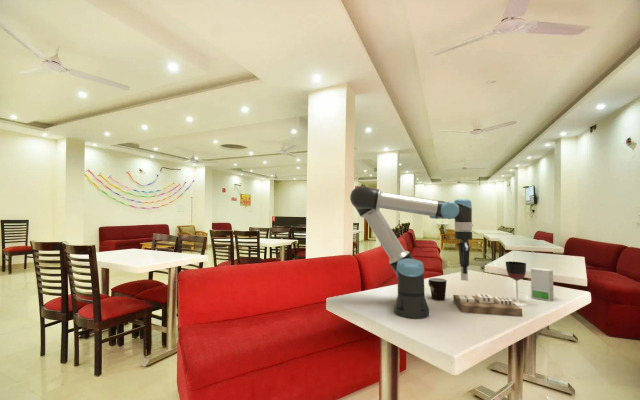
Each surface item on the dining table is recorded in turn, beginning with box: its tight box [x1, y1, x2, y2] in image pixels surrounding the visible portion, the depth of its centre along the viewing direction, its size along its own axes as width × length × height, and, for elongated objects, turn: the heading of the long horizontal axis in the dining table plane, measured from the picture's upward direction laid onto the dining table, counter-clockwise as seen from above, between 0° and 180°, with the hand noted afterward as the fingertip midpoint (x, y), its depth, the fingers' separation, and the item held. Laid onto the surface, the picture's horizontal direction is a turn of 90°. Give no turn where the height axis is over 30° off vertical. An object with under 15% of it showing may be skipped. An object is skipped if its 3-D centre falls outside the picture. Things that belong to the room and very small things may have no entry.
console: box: [453, 294, 523, 318], centre depth 135 cm, size 24×18×3 cm
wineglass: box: [505, 260, 528, 307], centre depth 142 cm, size 8×9×20 cm
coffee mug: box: [427, 277, 447, 302], centre depth 152 cm, size 12×9×10 cm
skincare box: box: [530, 267, 554, 302], centre depth 150 cm, size 8×7×16 cm
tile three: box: [493, 296, 514, 305], centre depth 133 cm, size 6×6×3 cm
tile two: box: [475, 293, 494, 303], centre depth 135 cm, size 6×6×3 cm
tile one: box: [457, 294, 475, 303], centre depth 137 cm, size 6×6×3 cm
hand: (464, 280), depth 137 cm, fingers closed
